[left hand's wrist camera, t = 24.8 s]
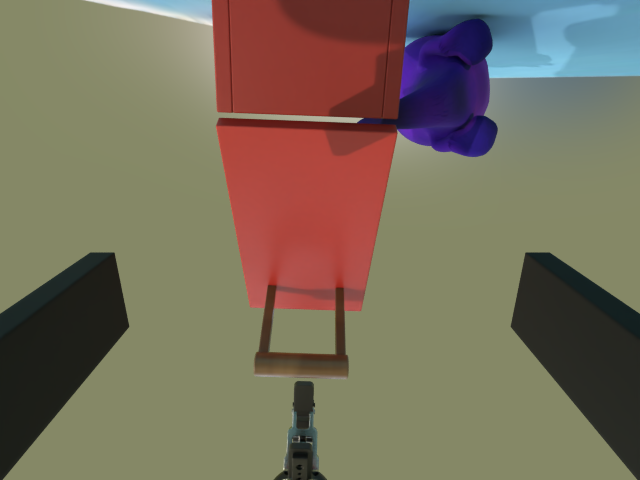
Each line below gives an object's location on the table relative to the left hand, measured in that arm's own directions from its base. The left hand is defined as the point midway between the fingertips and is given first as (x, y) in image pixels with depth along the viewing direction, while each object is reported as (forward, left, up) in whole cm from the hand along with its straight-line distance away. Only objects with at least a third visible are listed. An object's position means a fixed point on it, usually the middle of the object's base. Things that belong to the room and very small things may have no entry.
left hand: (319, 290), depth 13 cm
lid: (-3, -15, +3) cm, 16 cm away
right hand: (-4, -20, +24) cm, 31 cm away
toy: (+8, -47, -16) cm, 51 cm away
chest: (-4, -19, -16) cm, 25 cm away
